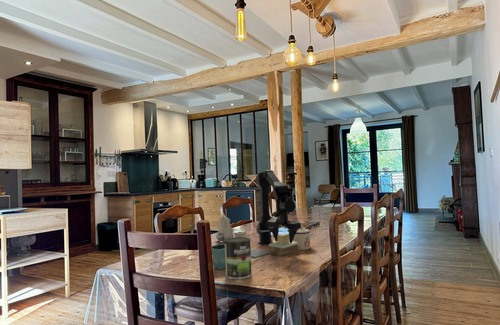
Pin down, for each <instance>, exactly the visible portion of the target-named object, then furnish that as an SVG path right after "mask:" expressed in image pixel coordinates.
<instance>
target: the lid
mask: <svg viewBox="0 0 500 325" xmlns="http://www.w3.org/2000/svg"><path fill="white" fill-rule="evenodd" d="M277 237H278V241H274V242H273V243H271V244H268V247H269V246H272V247H278V248H286V247H290V246H293V245H297V244H298V242H292V243H291V244H290V241H289V233H288V234H287V233H282V234H278V235H277Z"/></svg>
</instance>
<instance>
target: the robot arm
mask: <svg viewBox="0 0 500 325" xmlns="http://www.w3.org/2000/svg"><path fill="white" fill-rule="evenodd" d="M255 181H256V185H257V187H258V188H259V194H260V216H259V217H258V223H257V226H256V228H255V230H256V233H257V234H259V236H258V239H259V242H257V244H259V245H265V246H266V245H269V244H271V243H274V242H278V237H277V235H279V231H280V230H279V229H280V227H284V228H287V232H288V234H289V241H290V244H291V243H292V242H293V239H294V236H295V234H296V232H297V230H299V229H300V228H301V226H302V224H301V222H297V221H292V222H291V221H290V220H289V215H290V213H293V212H294V211H296V203H295V201H293V200H292V199H293V194H292V192H291V190H290V188H289V186H288V184H286V183H284V182H282V181H280V179H279V178H278V177H277V176H276V174H275V173H274V171H273V170H272V169H269V170H267V169H266V170H263V171H261V172H260V173H257V174H256V175H255ZM270 186H271V189H272V195H273V197H274V201H275V212H274V214H273V216H271V215H270V196H269V194H270V193H269V188H270ZM272 236H273V238H274V241H273V240H272Z"/></svg>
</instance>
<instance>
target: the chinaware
mask: <svg viewBox="0 0 500 325" xmlns="http://www.w3.org/2000/svg"><path fill="white" fill-rule="evenodd" d="M216 225H217V228H218V231H217V233H216V235H215V237H216V239H217V242H218V241H222V242H221V243H225V242H224V240H225V239H228V238H235V237H246V238H247V236H248V234H249V233H248V231H238V232H236V231H235V230H236V228H233V227H232V226H231V219H230V218H228V217H227V216H226V214H222V216H221V217H220V218H218V220H217V224H216ZM234 231H235V232H234Z"/></svg>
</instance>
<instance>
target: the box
mask: <svg viewBox="0 0 500 325" xmlns="http://www.w3.org/2000/svg"><path fill="white" fill-rule="evenodd" d="M268 247H269V251H270V254H269V255H272V256H278V257H281V258H282V257H283V258H285V257H288V256H291V255H294V254H297V253H299V250H298V244H297V245H293V246H290V247H286V248H278V247H272V246H269V245H268Z"/></svg>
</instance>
